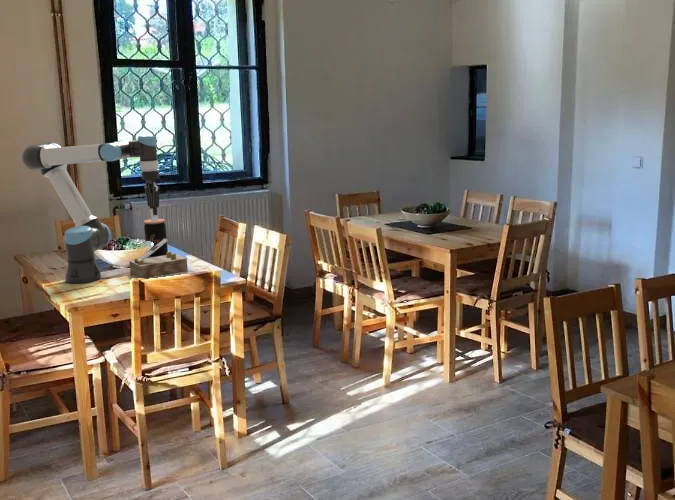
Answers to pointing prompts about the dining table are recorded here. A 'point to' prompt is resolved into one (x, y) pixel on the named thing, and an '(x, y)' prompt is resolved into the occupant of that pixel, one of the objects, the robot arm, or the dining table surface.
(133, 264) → the walnut box
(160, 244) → the strap
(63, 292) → the dining table surface
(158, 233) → the coffee jar
